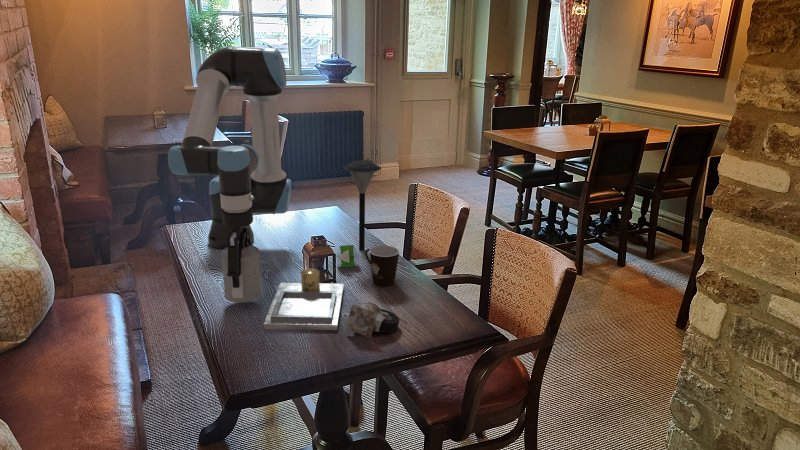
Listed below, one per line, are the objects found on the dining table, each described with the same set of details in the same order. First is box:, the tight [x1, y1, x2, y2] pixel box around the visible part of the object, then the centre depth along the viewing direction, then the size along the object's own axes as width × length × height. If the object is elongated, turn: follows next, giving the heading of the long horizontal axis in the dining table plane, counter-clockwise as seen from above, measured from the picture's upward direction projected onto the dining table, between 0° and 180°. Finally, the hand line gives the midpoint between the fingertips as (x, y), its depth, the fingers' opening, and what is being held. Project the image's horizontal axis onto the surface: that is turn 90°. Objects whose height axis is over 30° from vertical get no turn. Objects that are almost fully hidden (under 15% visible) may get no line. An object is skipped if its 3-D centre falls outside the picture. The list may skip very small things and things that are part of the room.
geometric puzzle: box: [335, 244, 360, 268], centre depth 179 cm, size 7×7×8 cm
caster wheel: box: [345, 302, 400, 339], centre depth 142 cm, size 7×11×10 cm
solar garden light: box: [343, 160, 382, 251], centre depth 188 cm, size 12×12×30 cm
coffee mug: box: [364, 245, 400, 288], centre depth 168 cm, size 12×9×10 cm
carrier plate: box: [263, 268, 345, 331], centre depth 151 cm, size 24×18×6 cm
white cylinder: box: [220, 244, 263, 303], centre depth 150 cm, size 10×10×12 cm
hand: (242, 288), depth 151 cm, fingers closed on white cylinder, 9 cm apart
